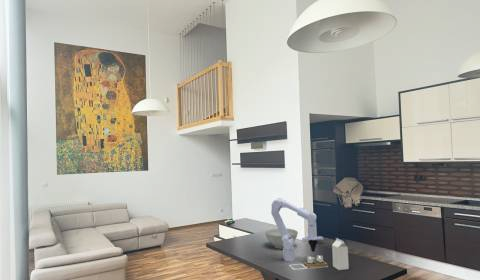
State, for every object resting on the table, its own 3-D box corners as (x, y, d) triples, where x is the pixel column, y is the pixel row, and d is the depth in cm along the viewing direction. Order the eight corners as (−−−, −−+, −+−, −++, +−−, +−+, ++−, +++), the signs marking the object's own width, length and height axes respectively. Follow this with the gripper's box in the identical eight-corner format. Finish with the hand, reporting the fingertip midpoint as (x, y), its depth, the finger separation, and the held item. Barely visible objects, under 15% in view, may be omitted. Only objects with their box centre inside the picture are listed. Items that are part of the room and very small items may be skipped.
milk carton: (338, 271, 194) (337, 241, 195) (333, 268, 201) (331, 238, 202) (348, 270, 196) (347, 240, 197) (342, 267, 203) (341, 237, 204)
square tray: (288, 267, 205) (288, 264, 205) (301, 265, 207) (301, 263, 207) (293, 271, 196) (293, 269, 196) (307, 270, 198) (306, 268, 198)
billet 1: (306, 265, 204) (306, 255, 204) (312, 265, 204) (311, 255, 205) (308, 267, 200) (308, 257, 200) (314, 267, 200) (314, 257, 201)
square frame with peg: (307, 262, 213) (307, 258, 213) (315, 261, 214) (315, 257, 214) (311, 265, 207) (311, 261, 207) (320, 264, 208) (319, 260, 208)
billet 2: (315, 264, 205) (315, 254, 206) (321, 264, 206) (321, 254, 206) (318, 266, 201) (318, 256, 202) (324, 266, 202) (323, 256, 202)
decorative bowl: (258, 247, 253) (258, 232, 254) (277, 240, 273) (277, 227, 274) (286, 253, 235) (285, 237, 236) (304, 245, 255) (303, 230, 256)
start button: (311, 261, 211) (310, 256, 212) (314, 261, 212) (314, 256, 212) (312, 262, 209) (312, 258, 209) (316, 262, 209) (315, 257, 210)
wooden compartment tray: (303, 266, 205) (302, 261, 205) (323, 264, 208) (322, 259, 208) (307, 270, 198) (307, 265, 198) (328, 268, 200) (328, 263, 201)
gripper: (304, 233, 207) (305, 253, 206) (324, 231, 209) (325, 251, 208) (300, 230, 213) (301, 250, 213) (320, 229, 216) (320, 249, 215)
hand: (313, 251), depth 211 cm, fingers closed
